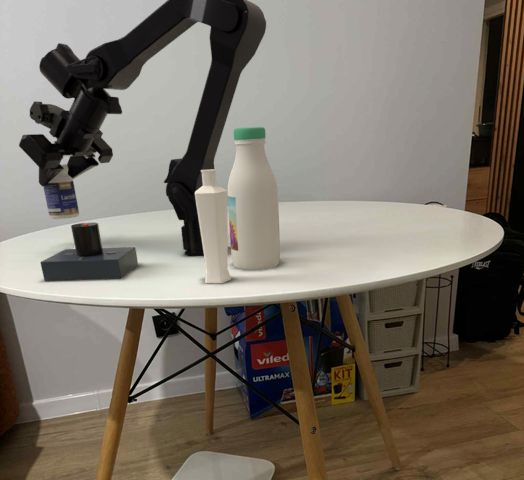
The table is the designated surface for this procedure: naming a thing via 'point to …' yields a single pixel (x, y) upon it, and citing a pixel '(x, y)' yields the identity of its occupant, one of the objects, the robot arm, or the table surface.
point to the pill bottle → (61, 196)
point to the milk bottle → (253, 203)
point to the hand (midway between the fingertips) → (52, 183)
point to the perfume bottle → (213, 227)
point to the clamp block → (89, 265)
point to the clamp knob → (87, 239)
